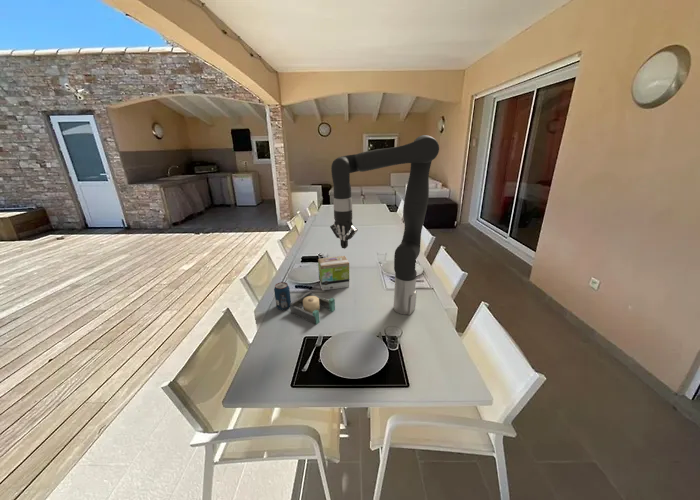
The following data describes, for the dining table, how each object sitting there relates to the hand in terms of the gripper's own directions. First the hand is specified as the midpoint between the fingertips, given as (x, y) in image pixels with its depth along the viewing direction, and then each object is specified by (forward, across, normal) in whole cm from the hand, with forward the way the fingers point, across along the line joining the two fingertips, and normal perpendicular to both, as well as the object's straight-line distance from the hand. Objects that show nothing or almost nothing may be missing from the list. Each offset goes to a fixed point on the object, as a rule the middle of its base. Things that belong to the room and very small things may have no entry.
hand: (344, 247), depth 123 cm
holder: (+31, +12, +10) cm, 34 cm away
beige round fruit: (+31, +12, +10) cm, 35 cm away
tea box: (+31, +18, -15) cm, 39 cm away
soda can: (+31, +26, +15) cm, 43 cm away
